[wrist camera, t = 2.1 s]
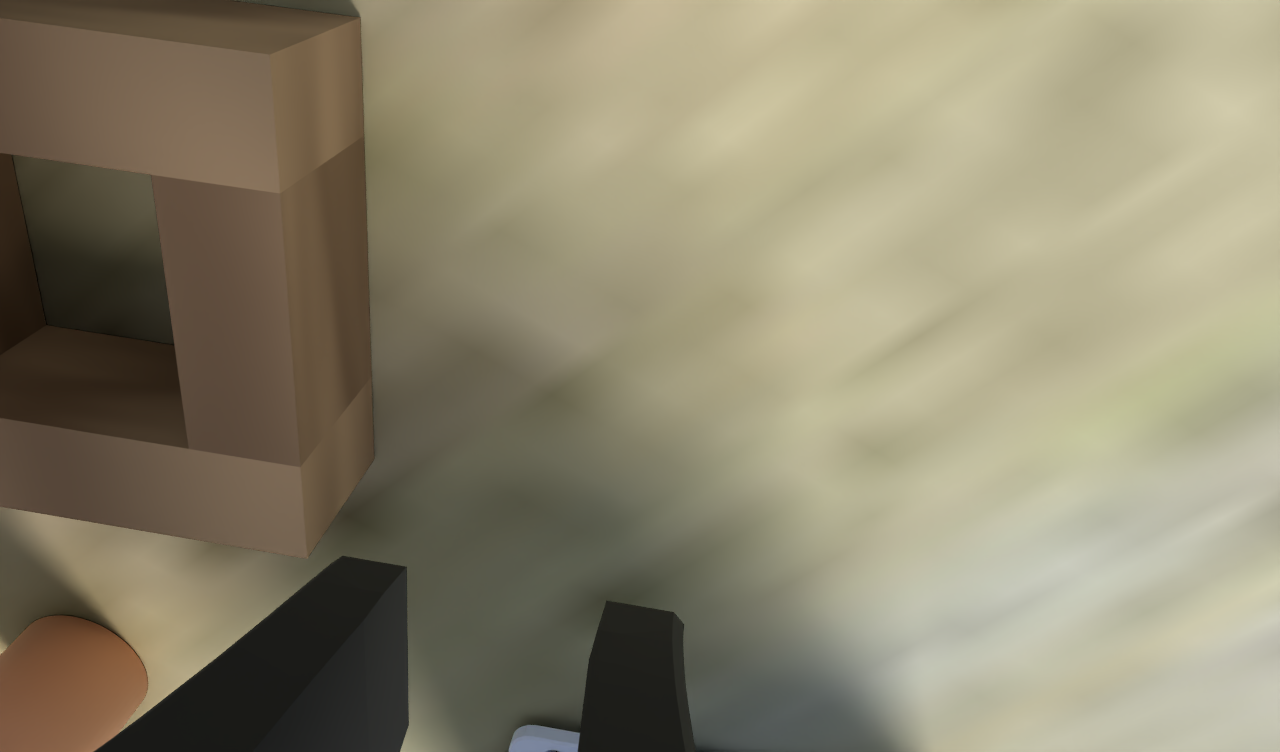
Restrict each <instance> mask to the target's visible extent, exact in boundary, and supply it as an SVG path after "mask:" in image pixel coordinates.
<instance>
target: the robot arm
mask: <svg viewBox="0 0 1280 752" xmlns="http://www.w3.org/2000/svg"><path fill="white" fill-rule="evenodd" d="M683 631H684V624H683V623H682V621H681V620H680V619H679V618H678V617H677V616H676V614H675V613H674V612H670V611H664V610H658V609H652V608H646V607H640V606H634V605H628V604H622V603H617V602H611V601H607V602H606V605H605V608H604V611H603V614H602V618H601V621H600V624H599V627H598V630H597V634H596V637H595V641H594V644H593V648H592V651H591V655H590V658H589V664H588V672H587V680H586V688H585V696H584V704H583V712H582V720H581V728H580V733H577V732H572V731H566V730H561V729H555V728H550V727H544V726H538V725H526V726H522V727H519V728H518V729H517V730H516V731H515V732H514V734H513V737H512V740H511V743H510V747H509V752H555V751H552V750H557V751H559V752H696V750H695V745H694V739H693V733H692V727H691V720H690V714H689V707H688V701H687V692H686V683H685V673H684V657H683ZM408 726H409V713H408V639H407V567H405V566H399V565H393V564H387V563H381V562H375V561H369V560H363V559H358V558H352V557H346V556H342V557H340V558H339V559H337V560H336V561H334V562H333V563H332V564H330V565H329V566H328V567H327V568H325V569H324V570H323V571H322V572H320V573H319V574H318V575H317V576H316V577H314V578H313V579H312V580H311V581H309V582H308V583H307V584H306V585H305V586H303V587H302V588H301V589H300V590H299V591H297V592H296V593H295V594H294V595H293V596H291V597H290V598H289V599H288V600H287V601H285V602H284V603H283V604H282V605H281V606H279V607H278V608H277V609H276V610H275V611H273V612H272V613H271V614H270V615H269V616H267V617H266V618H265V619H264V620H262V621H261V622H260V623H259V624H258V625H256V626H255V627H254V628H253V629H252V630H250V631H249V632H248V633H247V634H245V635H244V636H243V637H242V638H240V639H239V640H238V641H237V642H236V643H234V644H233V645H232V646H231V647H229V648H228V649H227V650H226V651H225V652H223V653H222V654H221V655H220V656H218V657H217V658H216V659H215V660H213V661H212V662H211V663H209V664H208V665H207V666H206V667H204V668H203V669H202V670H200V671H199V672H198V673H197V674H195V675H194V676H193V677H192V678H190V679H189V680H188V681H186V682H185V683H184V684H183V685H181V686H180V687H179V688H177V689H176V690H175V691H174V692H172V693H171V694H170V695H168V696H167V697H166V698H165V699H163V700H162V701H161V702H159V703H158V704H157V705H156V706H154V707H153V708H152V709H151V710H149V711H148V712H147V713H145V714H144V715H143V716H141V717H140V718H139V719H137V720H136V721H135V722H133V723H132V724H131V725H129V726H128V727H127V728H125V729H124V730H123V731H121V732H120V733H119V734H117V735H116V736H114V737H113V738H112V739H110V740H109V741H108V742H106V743H105V744H103V745H102V746H101V747H99V748H98V749H96V750H95V751H94V752H400V749H401V746H402V743H403V740H404V737H405V734H406V732H407V729H408Z"/></svg>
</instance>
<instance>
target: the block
mask: <svg viewBox="0 0 1280 752" xmlns="http://www.w3.org/2000/svg"><path fill="white" fill-rule="evenodd" d="M11 154H12V155H19V156H25V157H32V158H39V159H46V160H53V161H60V162H67V163H74V164H80V165H87V166H94V167H101V168H108V169H115V170H122V171H129V172H136V173H142V174H149V175H151V179H152V186H153V193H154V200H155V208H156V215H157V222H158V229H159V237H160V244H161V251H162V258H163V266H164V273H165V280H166V288H167V295H168V302H169V309H170V317H171V324H172V331H173V338H174V345H169V344H163V343H156V342H150V341H143V340H137V339H131V338H124V337H118V336H112V335H105V334H99V333H93V332H86V331H80V330H73V329H67V328H61V327H54V326H48V325H46V322H45V317H44V312H43V307H42V302H41V297H40V292H39V287H38V282H37V278H36V273H35V268H34V263H33V258H32V253H31V248H30V243H29V239H28V234H27V229H26V224H25V219H24V214H23V209H22V204H21V200H20V195H19V190H18V185H17V180H16V175H15V170H14V165H13V160H12V156H11ZM373 460H374V435H373V403H372V371H371V339H370V307H369V275H368V243H367V211H366V179H365V147H364V115H363V83H362V51H361V19H360V17H352V16H344V15H337V14H329V13H322V12H314V11H307V10H299V9H292V8H284V7H276V6H269V5H261V4H254V3H246V2H239V1H231V0H0V507H6V508H12V509H18V510H24V511H30V512H35V513H41V514H47V515H53V516H59V517H65V518H71V519H77V520H82V521H88V522H94V523H100V524H106V525H112V526H118V527H123V528H129V529H135V530H141V531H147V532H153V533H159V534H165V535H170V536H176V537H182V538H188V539H194V540H200V541H206V542H211V543H217V544H223V545H229V546H235V547H241V548H247V549H253V550H258V551H264V552H270V553H276V554H282V555H288V556H294V557H299V558H305V559H307V558H308V557H309V555H310V554H311V552H312V551H313V549H314V548H315V546H316V545H317V544H318V542H319V541H320V539H321V538H322V536H323V535H324V533H325V532H326V530H327V529H328V527H329V526H330V524H331V523H332V521H333V520H334V518H335V517H336V515H337V514H338V512H339V511H340V509H341V508H342V506H343V505H344V503H345V502H346V500H347V499H348V498H349V496H350V495H351V493H352V492H353V490H354V489H355V487H356V486H357V484H358V483H359V481H360V480H361V478H362V477H363V475H364V474H365V472H366V471H367V469H368V468H369V466H370V465H371V463H372V462H373Z"/></svg>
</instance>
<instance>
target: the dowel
mask: <svg viewBox="0 0 1280 752" xmlns="http://www.w3.org/2000/svg"><path fill="white" fill-rule="evenodd" d="M147 690H148V678H147V674H146V671H145V668H144V666H143V664H142V662H141V661H140V659H139V657H138V656H137V655H136V653H135V652H134V651H133V650H132V649H131V648H130V646H129V645H128V644H126V643H125V642H124V641H123V640H122V639H121V638H119V637H118V636H117V635H115V634H114V633H112V632H111V631H109V630H108V629H106V628H104V627H102V626H100V625H98V624H96V623H93V622H91V621H88V620H85V619H82V618H78V617H73V616H65V615H55V616H48V617H43V618H41V619H38V620H36V621H34V622H33V623H31V624H30V625H29V626H28V627H27V628H26V629H25V630H24V631H23V632H22V633H21V634H20V635H19V636H18V637H17V638H16V639H15V640H14V642H13V643H12V644H11V645H10V646H9V647H8V648H7V649H6V650H5V651H4V652H3V653H2V654H1V655H0V752H94V751H95V750H96V749H98V748H99V747H101V746H102V745H103V744H105V743H106V742H108V741H109V740H110V739H112V738H113V737H114V736H116V735H117V734H118V733H119V732H120V730H121V729H122V728H123V726H124V725H125V724H126V722H127V721H128V720H129V718H130V717H131V716H132V714H133V713H134V712H135V710H136V709H137V708H138V706H139V705H140V704H141V702H142V701H143V700H144V698H145V696H146V693H147Z"/></svg>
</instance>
